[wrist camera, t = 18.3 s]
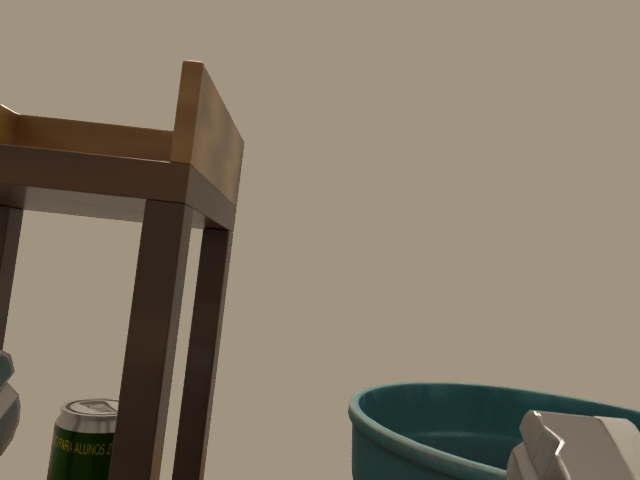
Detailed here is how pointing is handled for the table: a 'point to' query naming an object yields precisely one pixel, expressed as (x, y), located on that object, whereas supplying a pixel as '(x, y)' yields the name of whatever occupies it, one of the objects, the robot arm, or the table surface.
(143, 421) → the stand
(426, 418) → the flower pot
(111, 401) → the beer can
